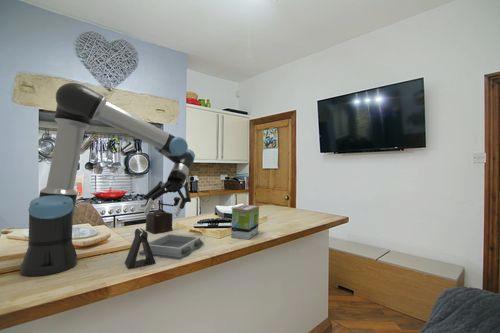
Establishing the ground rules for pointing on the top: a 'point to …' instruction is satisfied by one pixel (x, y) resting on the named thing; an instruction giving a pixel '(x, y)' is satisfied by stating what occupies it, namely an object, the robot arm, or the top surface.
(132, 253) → the dark grey triangular stand
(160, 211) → the dark brown handled box
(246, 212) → the tea box
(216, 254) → the top surface
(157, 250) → the tray
